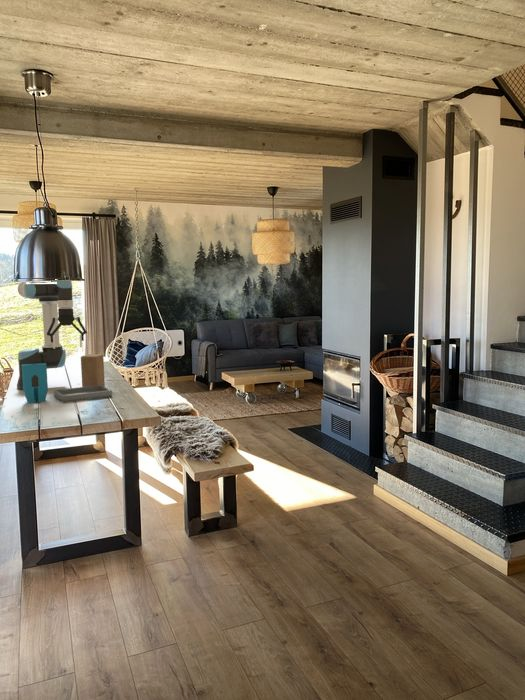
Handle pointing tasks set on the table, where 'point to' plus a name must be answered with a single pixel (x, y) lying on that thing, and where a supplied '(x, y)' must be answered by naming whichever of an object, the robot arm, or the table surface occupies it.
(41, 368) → the block
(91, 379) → the wooden block
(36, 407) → the table surface
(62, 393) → the tray
